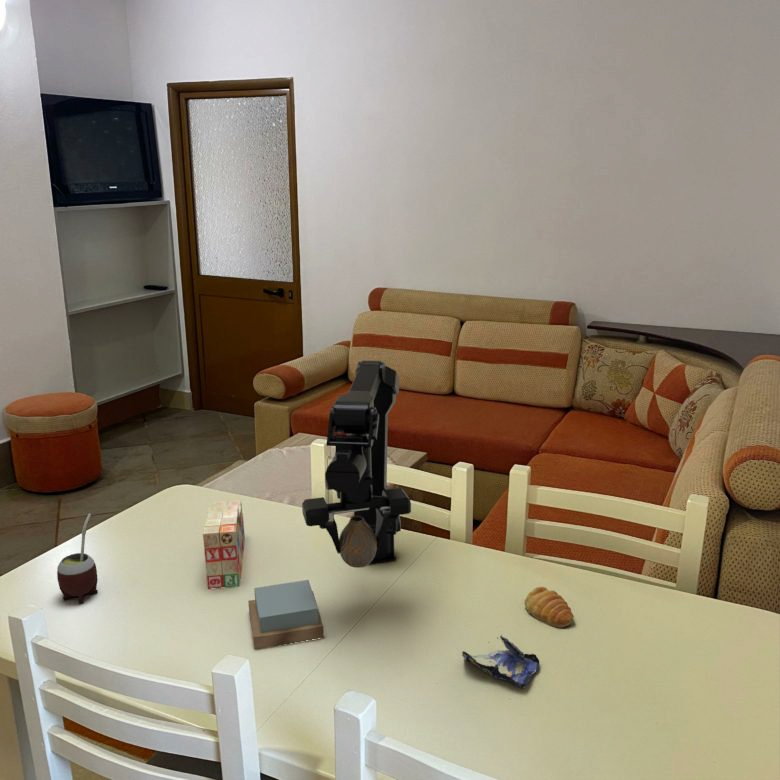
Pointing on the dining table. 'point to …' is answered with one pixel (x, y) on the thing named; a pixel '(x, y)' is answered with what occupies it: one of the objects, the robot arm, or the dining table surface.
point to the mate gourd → (77, 573)
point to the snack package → (509, 663)
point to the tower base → (282, 631)
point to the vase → (357, 543)
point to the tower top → (285, 606)
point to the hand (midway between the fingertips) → (357, 549)
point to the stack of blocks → (224, 544)
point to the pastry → (549, 607)
